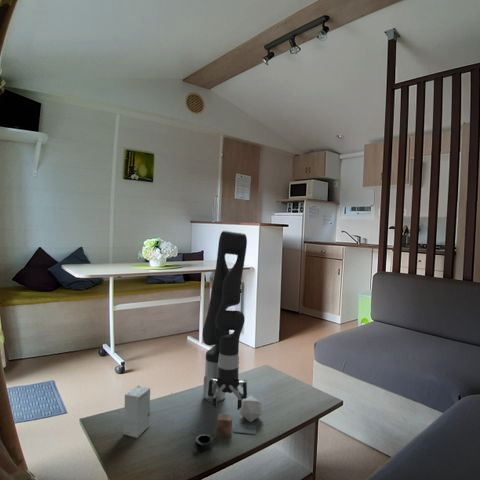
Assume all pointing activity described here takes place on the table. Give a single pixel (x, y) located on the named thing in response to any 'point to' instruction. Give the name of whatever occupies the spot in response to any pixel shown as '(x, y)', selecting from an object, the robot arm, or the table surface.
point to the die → (251, 408)
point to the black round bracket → (203, 443)
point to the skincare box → (137, 411)
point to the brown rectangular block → (224, 425)
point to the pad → (245, 429)
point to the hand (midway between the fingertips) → (227, 407)
